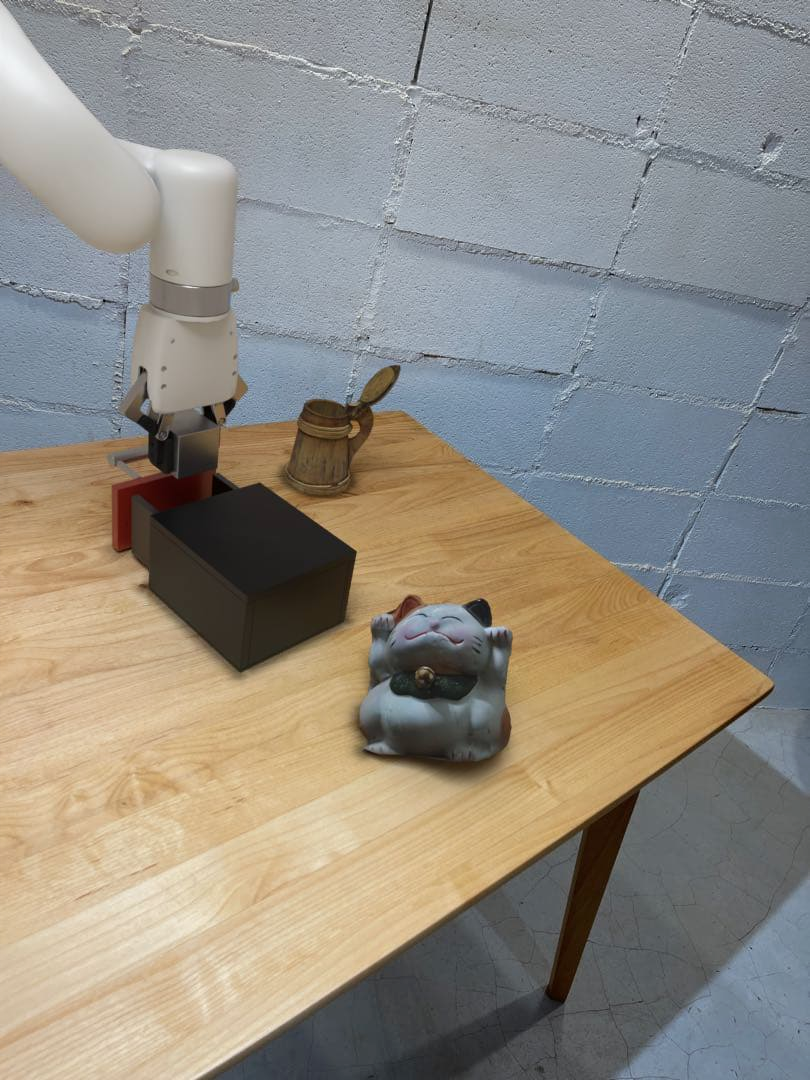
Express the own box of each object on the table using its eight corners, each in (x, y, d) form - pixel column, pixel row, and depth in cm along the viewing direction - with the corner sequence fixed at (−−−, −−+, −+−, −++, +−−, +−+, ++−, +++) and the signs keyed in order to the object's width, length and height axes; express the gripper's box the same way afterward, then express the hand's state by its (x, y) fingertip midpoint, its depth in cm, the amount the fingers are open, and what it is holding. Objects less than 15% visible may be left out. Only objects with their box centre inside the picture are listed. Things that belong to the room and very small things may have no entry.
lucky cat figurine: (328, 746, 73) (340, 592, 72) (384, 716, 84) (395, 582, 83) (488, 783, 67) (504, 616, 66) (526, 745, 78) (539, 602, 77)
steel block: (150, 459, 87) (151, 416, 84) (190, 449, 90) (192, 407, 88) (177, 479, 84) (179, 436, 82) (217, 468, 88) (220, 426, 85)
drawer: (84, 521, 93) (82, 456, 89) (179, 494, 102) (182, 433, 97) (188, 615, 83) (191, 547, 79) (284, 576, 92) (292, 512, 87)
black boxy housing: (148, 592, 86) (149, 514, 81) (252, 554, 96) (259, 482, 91) (239, 677, 78) (247, 596, 73) (343, 625, 88) (357, 551, 83)
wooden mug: (385, 501, 112) (409, 379, 102) (286, 497, 108) (302, 369, 99) (373, 469, 119) (394, 352, 110) (280, 464, 115) (294, 342, 106)
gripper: (239, 275, 85) (228, 431, 95) (85, 288, 74) (91, 465, 83) (285, 299, 81) (269, 459, 91) (131, 316, 70) (131, 498, 80)
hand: (184, 460), depth 87 cm, fingers closed on steel block, 5 cm apart
